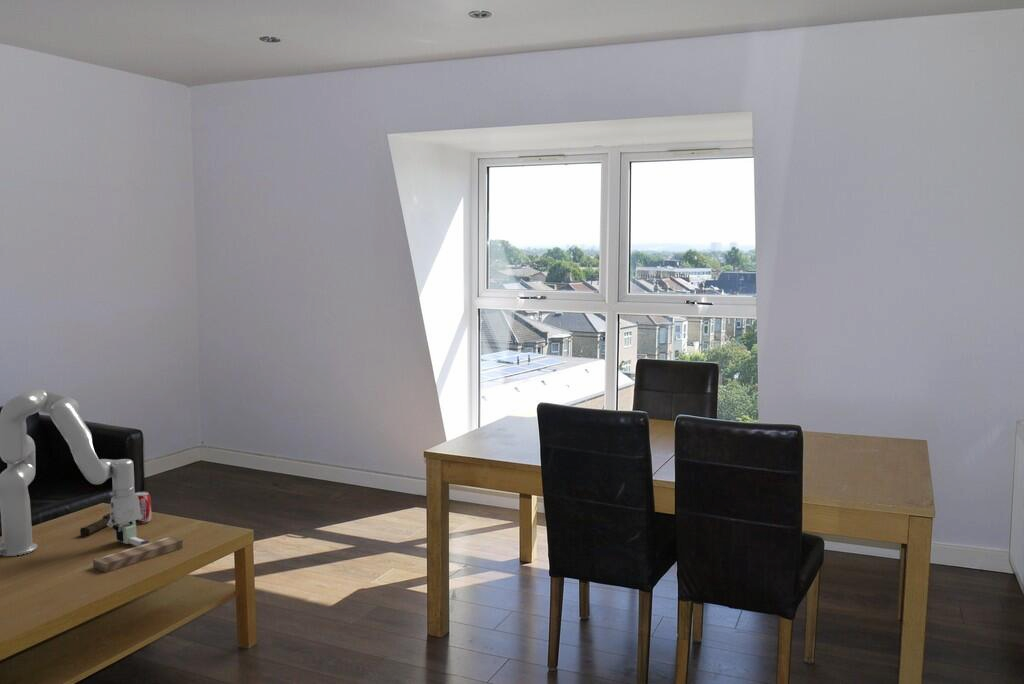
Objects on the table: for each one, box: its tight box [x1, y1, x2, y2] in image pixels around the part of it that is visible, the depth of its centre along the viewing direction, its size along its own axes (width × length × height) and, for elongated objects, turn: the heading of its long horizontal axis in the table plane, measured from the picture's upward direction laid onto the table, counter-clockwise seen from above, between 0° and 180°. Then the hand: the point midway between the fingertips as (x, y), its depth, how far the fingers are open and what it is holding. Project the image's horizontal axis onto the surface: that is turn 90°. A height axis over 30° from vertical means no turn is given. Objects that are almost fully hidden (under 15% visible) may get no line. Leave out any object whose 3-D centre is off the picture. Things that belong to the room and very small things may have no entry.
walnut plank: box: [92, 535, 184, 573], centre depth 310 cm, size 30×8×3 cm, turn 145°
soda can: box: [135, 491, 152, 524], centre depth 351 cm, size 7×7×12 cm
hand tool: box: [79, 512, 110, 537], centre depth 342 cm, size 19×4×5 cm, turn 168°
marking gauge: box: [114, 522, 150, 547], centre depth 324 cm, size 4×17×6 cm, turn 55°
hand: (126, 538), depth 326 cm, fingers closed on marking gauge, 4 cm apart
